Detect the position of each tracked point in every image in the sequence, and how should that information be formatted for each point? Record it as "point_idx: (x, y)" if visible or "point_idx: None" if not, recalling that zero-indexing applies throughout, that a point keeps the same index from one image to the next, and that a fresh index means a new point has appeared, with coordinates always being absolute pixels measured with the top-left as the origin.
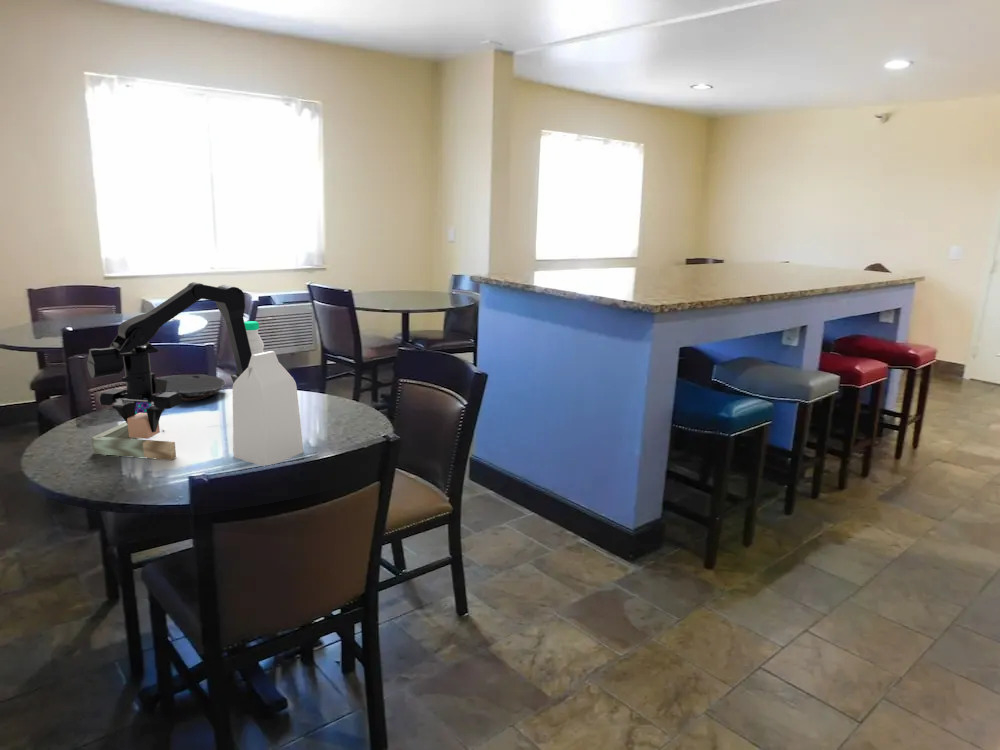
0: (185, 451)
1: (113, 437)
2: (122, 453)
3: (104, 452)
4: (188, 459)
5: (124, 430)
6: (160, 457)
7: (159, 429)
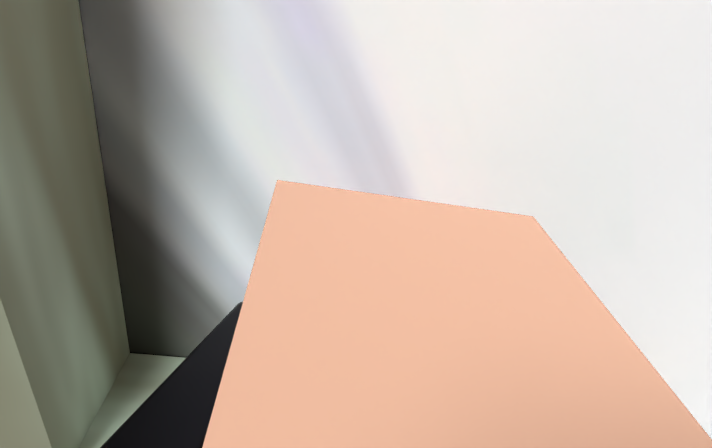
0: (700, 314)
1: (66, 318)
2: None
3: None
4: (707, 411)
5: (11, 158)
6: None
7: (550, 239)
